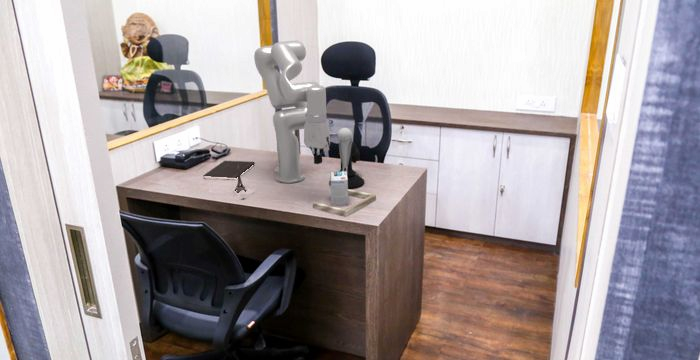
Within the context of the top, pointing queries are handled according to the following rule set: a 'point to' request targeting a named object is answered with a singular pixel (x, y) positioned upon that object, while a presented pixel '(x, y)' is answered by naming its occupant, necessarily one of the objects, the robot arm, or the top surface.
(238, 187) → the eiffel tower figurine
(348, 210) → the bay
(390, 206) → the top surface
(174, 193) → the top surface
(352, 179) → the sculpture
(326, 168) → the top surface
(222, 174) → the hardcover book
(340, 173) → the light bulb box
